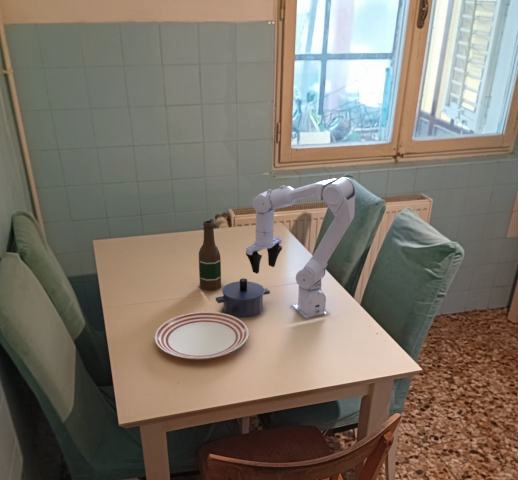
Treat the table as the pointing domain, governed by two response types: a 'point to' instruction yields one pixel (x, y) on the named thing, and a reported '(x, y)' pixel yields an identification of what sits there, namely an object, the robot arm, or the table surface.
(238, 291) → the lid
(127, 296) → the table surface
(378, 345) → the table surface
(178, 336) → the dinner plate
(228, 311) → the pot
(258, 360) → the table surface
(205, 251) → the beer bottle
